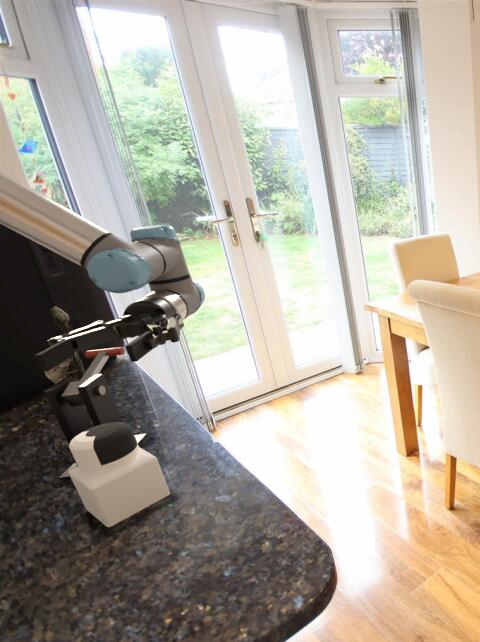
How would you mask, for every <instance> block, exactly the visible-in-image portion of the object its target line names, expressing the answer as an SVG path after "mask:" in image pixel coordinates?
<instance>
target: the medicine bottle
mask: <svg viewBox="0 0 480 642" xmlns="http://www.w3.org/2000/svg"><path fill="white" fill-rule="evenodd" d="M134 435H135V433H134V431H133V428H132V426H131V425H130V424H128V423H126V422H123V421H122V422H114V423H106V424H101V425H98V426H95V427H94V426H93V427H92V428H89V429H87V430H85V431H83V432H82V433H80V434H79V435H77V436H76V437H74V438H73V439H72V441H71V442H70V444H68V448H69V450H70V452H71V454H72V457H73V459H74V461H75V462H76V463H77V465H78V467H76V468H74V469H71V470H70V471H69V475H70V477H71V478H70V479H71V481H72V483H73V485H74V487H75V490H76V491H77V493H78V496H79V498H80V500H81V502H82V504H83V506H84V508H85V510H86V511H87V512H88V513H90V514H91V515H92V516H93V517H94V518H95V519H97V520H98V521H99V522H101V524H103V525H104V526H105V527H107V528H111V527H113V526H115V525H117V524H118V523H121V522H123V521H124V520H126V519H128V518H130V517H131V516H133V515H135V514H137V513H139V512H140V511H142V510H144V509H146V508H148V507H150V506H152V505H154V504H156V503H157V502H159V501H161V500H162V499H165V498H166V497H168V496H170V495H171V491H170V488H169V486H168V483H167V481H166V478H165V476H164V473H163V470H162V469H161V466H160V463H159V460H158V458H157V456H155V455H154V454H152V453H151V452H148V451H147V450H145V449H144V448H142V447H140V446H139V444H138V443H137V441H136V439H135V436H134Z"/></svg>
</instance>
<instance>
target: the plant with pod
mask: <svg viewBox="0 0 480 642" xmlns="http://www.w3.org/2000/svg"><path fill="white" fill-rule="evenodd" d="M49 311H50V315H51V317H52V319H53V322H54V324H55V326H56V327H58V328H60V327H61V332H62V335H63V334H65V333H66V329H70V326H69V325H68V323H69V321H70V316H69V314H68V313H66V311H64V310H63V309H61V308H59V307H58V306H53V307H52V308H51V309H49ZM64 326H66V329H64ZM78 352H79V351H77V352H75V355H74V356H72V358H69V359H67V360H66V361H64V362H62V363H61V364H59V365H57V366H56V367H54V368H52V369H51V370H49V371H45V372H44V374H45V376H46V377H47V379H48V380H49V381H50V382H52V384H54V385H55V384H56V383H58V382H59V381H61V380H62V379H64V378H71V377H72V379H73V381H74V382H75V381H80V380H81V379H82V377H83V375H84V374H85V372H86V369H85V367H84V365H83V361H82V359H81V358H80V355H79V353H78ZM84 406H85V405H84ZM85 409H86V407H85Z"/></svg>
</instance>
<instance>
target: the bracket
mask: <svg viewBox="0 0 480 642" xmlns="http://www.w3.org/2000/svg"><path fill="white" fill-rule="evenodd" d="M70 382H74V381H73V379H72V377H71V378H64V379H62V380H61V381H59V382H58V383H56V384H55V383H54V384H53V385H52V386H50V387H49V388H47V389H45V390H44V391H43V393H44V395H45V397H46V399H47V400H48V404H49V406H50V408H51V410H52V412H53V414H54V416H55V418H56V421H57V422H58V425H59V427H60V429H61V431H62V433H63V436H64V438H65V440H66V442H67V444H68V445H69V444H70V442H71V441H72V439H73V438H74V437H76V436H77V435H79V434H80V433H82V432H83V431H85V430H87V429H89V428H92V427H95V426H98V425H101V424H106V423H114V422H123V420H122V418H121V415H120V413H119V410H118V407H117V406H116V403H115V401H114V398H113V396H112V393H111V391H110V389H109V386H108V384H107V381H106V379H105V376H104V374H103V373H99V374H97V375H94V376H93V377H91V378H90V379H89V380H87V381H86V382H84V383H83V384H82V385H80V386H79V387H77V389H78V391H79V393H80V396H81V398H82V400H83V402H84V405H85V406H84V405H80V406H70V405H69V404H68V403H67V402H66V401H65V399H64V398H63V397H62V396H61V395H62V394H63V392H64V391H65V389H66V388H67V386H68V385H69V383H70ZM85 407H86V408H85ZM147 435H148V433H140V434H134V436H135V439H136V441H137V443H138V445H140V443H141V442H142V441H143V440H144V439H145V438H146V437H147ZM76 467H78V465H77V463H76V461H75V462H73V464H72V465H70V466H69V467H68V468H67V469H66V470H65V471H64V472H63V473H62V474H61V475H60V476H58V478H57V479H58V480H64V479H71V477H70V475H69V471H70V470H71V469H74V468H76Z"/></svg>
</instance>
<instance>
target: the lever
mask: <svg viewBox="0 0 480 642" xmlns="http://www.w3.org/2000/svg"><path fill="white" fill-rule="evenodd" d="M125 349H126V348H124V347H122V346H121V347H120V346H119V347H110V348H101V349H91V350H90V349H89V350H86V351H85V352H84V357H85V358H86V359H93V358H94V359H93V360H92V362H91V363H90V365H89V366H88V368H87V370H85V374H84V375H83V377H82V379H81V380H80V381H75V382H70V383H69V385H68V386H67V388H66V389H65V391H64V392H63V394H62V395H61V396H62V397H63V398H64V399H65V401H66V402H67V403H68V404H69V405H70V406H80V405H84V402H83V400H82V398H81V396H80V393H79V391H78V389H77V387H79V386H80V385H82V384H83V383H84V382H86V381H87V380H89V379H90V378H91V377H93V376H94V375H97V374H100V372H101V370H102V369H103V367H104V366H105V365H106V363H107V361H108V360H109V358H110V357H112V356H113V357H115V356H123V355H125V353H126V350H125Z"/></svg>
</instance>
